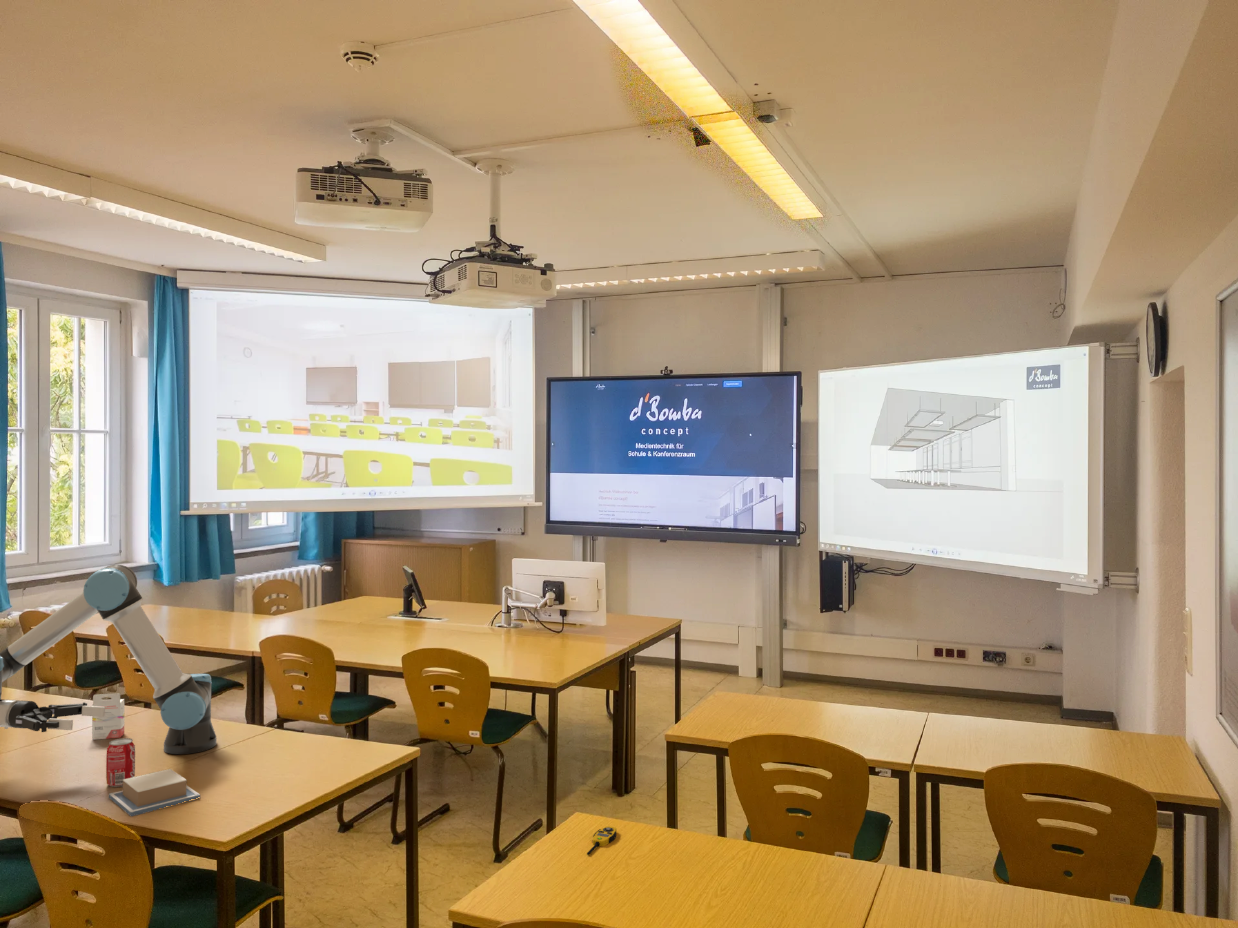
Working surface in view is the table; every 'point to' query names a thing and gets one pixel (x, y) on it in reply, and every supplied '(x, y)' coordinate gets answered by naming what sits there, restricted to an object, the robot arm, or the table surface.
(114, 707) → the ink cartridge box
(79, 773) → the table surface
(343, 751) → the table surface
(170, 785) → the board
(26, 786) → the table surface
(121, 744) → the soda can
